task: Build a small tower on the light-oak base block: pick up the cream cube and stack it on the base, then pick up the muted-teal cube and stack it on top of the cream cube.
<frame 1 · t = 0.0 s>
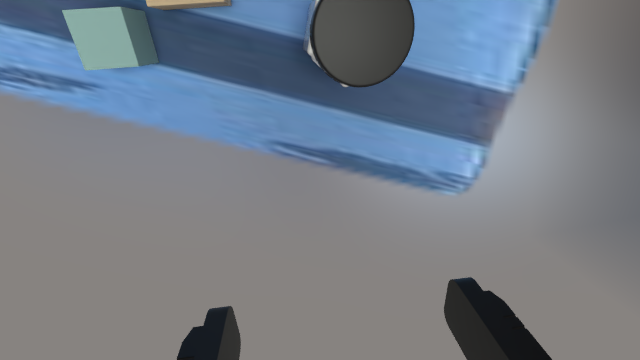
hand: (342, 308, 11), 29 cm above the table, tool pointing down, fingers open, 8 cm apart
teal cube: (128, 39, 32), on the table
jar: (339, 34, 34), on the table
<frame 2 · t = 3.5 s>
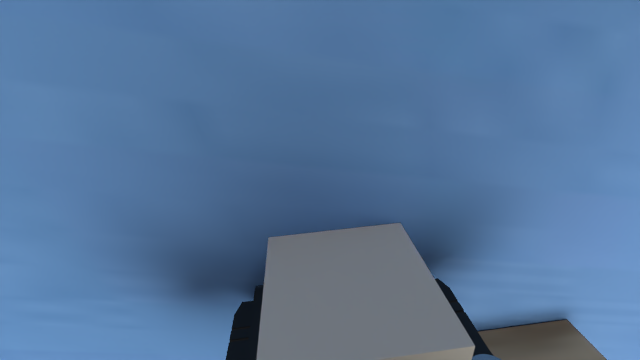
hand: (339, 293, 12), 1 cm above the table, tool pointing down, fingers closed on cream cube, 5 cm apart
cream cube: (337, 279, 12), on the table, touching gripper
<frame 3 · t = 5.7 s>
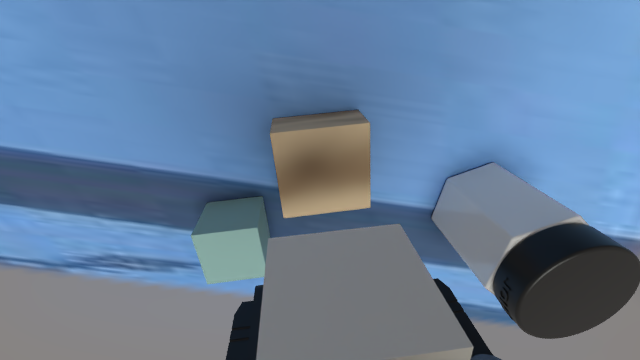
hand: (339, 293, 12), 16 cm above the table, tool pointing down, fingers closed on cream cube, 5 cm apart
teal cube: (240, 221, 28), on the table
cream cube: (337, 280, 12), point 15 cm above the table, touching gripper
base block: (319, 154, 26), on the table
jar: (472, 201, 30), on the table
when the fingers open (6 cm above the table, at t = 8.1 s): cream cube stays where it is, resting on base block.
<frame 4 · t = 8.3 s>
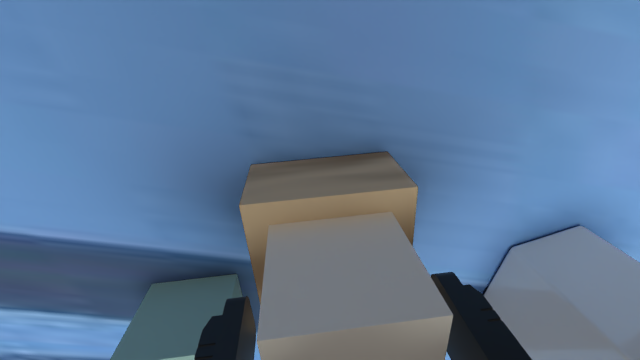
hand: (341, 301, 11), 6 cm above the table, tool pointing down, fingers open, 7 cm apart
teal cube: (204, 307, 19), on the table
cream cube: (333, 265, 13), point 4 cm above the table, touching base block
base block: (324, 215, 17), on the table
jar: (540, 275, 21), on the table
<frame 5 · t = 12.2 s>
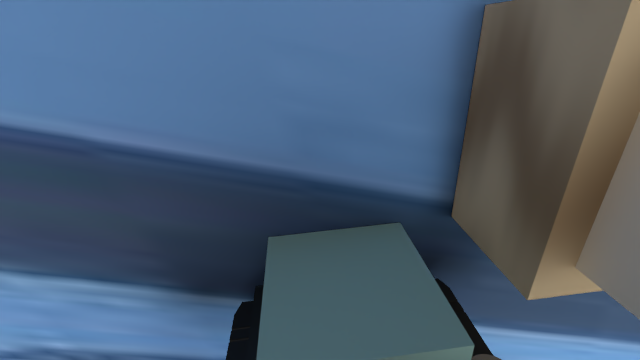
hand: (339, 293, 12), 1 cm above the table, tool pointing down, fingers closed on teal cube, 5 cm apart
teal cube: (337, 279, 12), on the table, touching gripper
base block: (565, 118, 10), on the table
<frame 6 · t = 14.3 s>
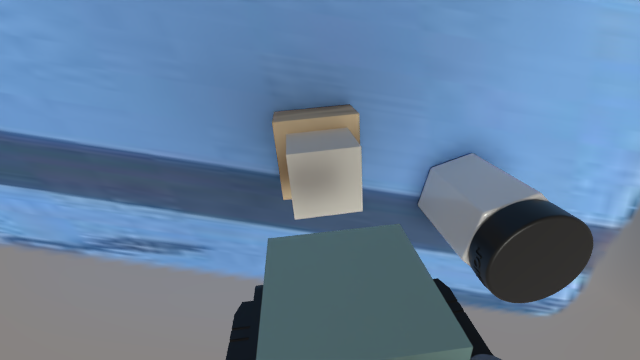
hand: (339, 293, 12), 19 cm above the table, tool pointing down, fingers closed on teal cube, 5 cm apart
teal cube: (337, 280, 12), point 18 cm above the table, touching gripper
cream cube: (319, 159, 25), point 4 cm above the table, touching base block
base block: (315, 144, 29), on the table
jar: (454, 189, 33), on the table
when the fingers open (10 cm above the table, at t = 16.5 s): teal cube stays where it is, resting on cream cube.
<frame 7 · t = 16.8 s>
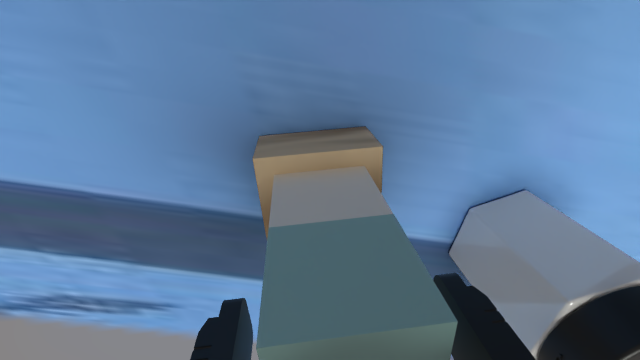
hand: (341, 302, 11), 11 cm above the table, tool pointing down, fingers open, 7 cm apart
teal cube: (334, 268, 13), point 9 cm above the table, touching cream cube
cream cube: (322, 208, 17), point 4 cm above the table, touching base block, teal cube
base block: (316, 179, 21), on the table
jar: (497, 234, 25), on the table
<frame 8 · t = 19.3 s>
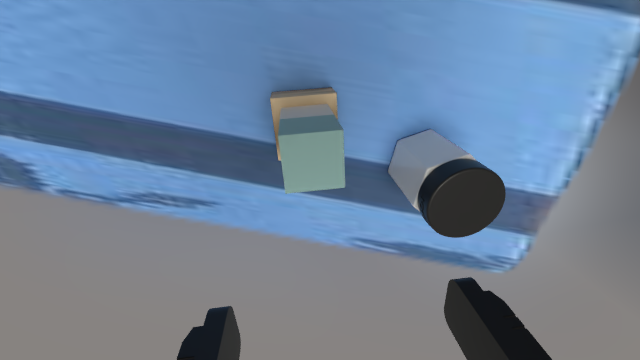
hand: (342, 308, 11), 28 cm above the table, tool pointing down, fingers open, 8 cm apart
teal cube: (309, 142, 28), point 9 cm above the table, touching cream cube
cream cube: (306, 128, 32), point 4 cm above the table, touching base block, teal cube
base block: (304, 119, 36), on the table
jar: (418, 159, 40), on the table
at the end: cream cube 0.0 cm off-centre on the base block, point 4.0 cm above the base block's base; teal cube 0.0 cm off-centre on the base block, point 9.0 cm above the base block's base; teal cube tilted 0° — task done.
